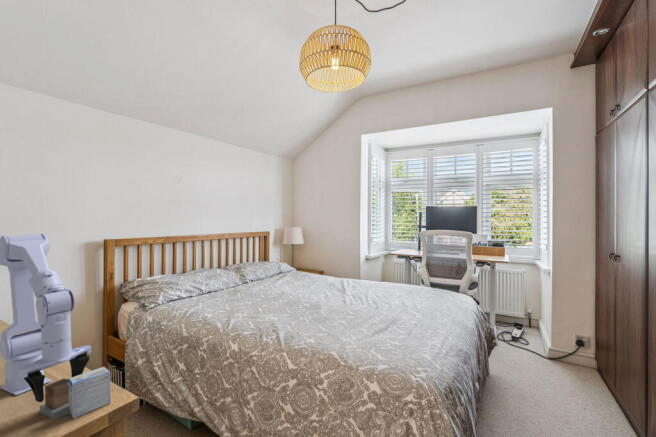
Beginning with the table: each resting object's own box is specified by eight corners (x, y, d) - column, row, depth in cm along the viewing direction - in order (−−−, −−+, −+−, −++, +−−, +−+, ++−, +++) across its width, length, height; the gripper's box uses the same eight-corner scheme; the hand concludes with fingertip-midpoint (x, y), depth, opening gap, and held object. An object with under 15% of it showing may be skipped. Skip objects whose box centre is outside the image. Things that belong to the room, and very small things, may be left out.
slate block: (40, 413, 79) (39, 405, 79) (63, 402, 84) (63, 395, 84) (54, 421, 76) (53, 413, 76) (77, 409, 81) (77, 401, 81)
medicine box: (105, 397, 85) (104, 365, 85) (111, 403, 82) (110, 370, 82) (68, 412, 79) (67, 378, 79) (73, 419, 76) (72, 384, 76)
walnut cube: (45, 405, 79) (45, 385, 79) (64, 397, 83) (63, 378, 83) (54, 409, 78) (53, 389, 78) (73, 400, 81) (72, 381, 81)
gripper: (27, 353, 71) (29, 413, 72) (97, 331, 85) (98, 381, 85) (12, 348, 74) (14, 405, 75) (82, 327, 88) (83, 376, 88)
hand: (58, 392), depth 80 cm, fingers open, 7 cm apart
